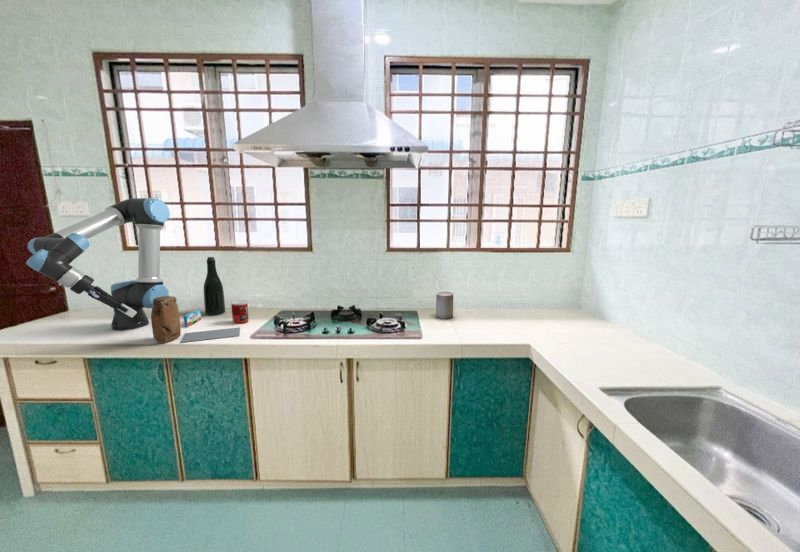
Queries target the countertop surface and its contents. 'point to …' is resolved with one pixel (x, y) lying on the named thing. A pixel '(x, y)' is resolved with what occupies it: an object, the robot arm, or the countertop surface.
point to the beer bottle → (213, 290)
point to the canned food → (240, 312)
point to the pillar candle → (444, 305)
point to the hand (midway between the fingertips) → (134, 314)
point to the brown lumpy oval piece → (165, 319)
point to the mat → (210, 335)
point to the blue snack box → (192, 318)
